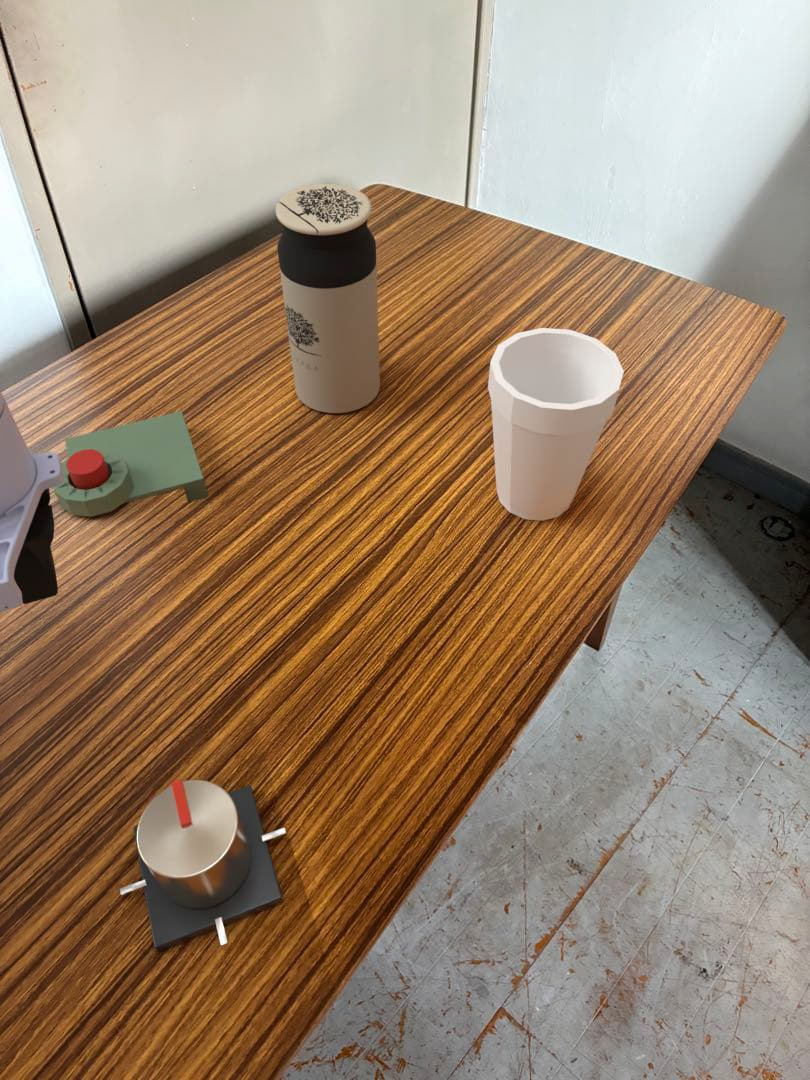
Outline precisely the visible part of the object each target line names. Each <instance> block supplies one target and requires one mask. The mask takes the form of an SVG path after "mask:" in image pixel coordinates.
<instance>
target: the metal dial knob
mask: <svg viewBox="0 0 810 1080" xmlns="http://www.w3.org/2000/svg"><path fill="white" fill-rule="evenodd" d="M228 793H229V792H228V791H227V790H226V789H224V788H223V787H221V786H220V785H218V784H216V783H215V782H212V781H209V780H203V779H188V780H187V779H186V780H182V779H178V780H175V781H173V782H171V783H170V785H169V786H168V787H166V788H164V789H162V790H161V791H160V792H158V793H157V795H155V796H154V797H153V798H152V799H151V801H149V803H148V804H147V806H145V808H144V810H143V812H142V813H141V816H140V818H139V821H138V824H137V825H138V828H137V838H136V840H137V847H136V849H137V848H138V851H139V854H140V856H141V858H142V860H143V861H144V863H145V864H146V866H147V867H148V869H149V870H150V872H151V873H152V875H153V876H154V878H155V879H156V880H157V882H158V883H159V885H160V886H161V888H162V889H163V891H164V892H165V893H166V895H167V896H168V897H169V898H170V899H171V900H172V901H174V902H175V903H177V904H179V905H181V906H183V907H187V908H193V909H203V908H208V907H212V906H215V905H217V904H219V903H221V902H223V901H225V900H226V899H228V898H229V897H230V896H232V895H233V894H234V893H235V892H236V891H237V890H238V888H239V887H240V886H241V885H242V883H243V881H244V880H245V878H246V876H247V874H248V871H249V868H250V864H251V846H250V842H249V839H248V836H247V834H246V831H245V829H244V826H243V823H242V821H241V818H240V816H239V813H238V811H237V808H236V805H235V803H234V801H233V799H232V798H231V796H230V795H229V794H228Z"/></svg>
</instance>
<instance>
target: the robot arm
mask: <svg viewBox="0 0 810 1080" xmlns="http://www.w3.org/2000/svg"><path fill="white" fill-rule="evenodd" d="M61 463H62V462H61V459H60V457H59V455H58V454H57V453H56V452H53V451H48V452H47V451H46V452H43V453H34V452H32V450H31V449H30V447H28V446H27V444H26V441H25V439H24V438H23V434H22V433H21V431H20V428H19V427H18V424H17V423H16V421H15V418H14V416H13V414H12V412H11V410H10V408H9V406H8V403H7V401H6V399H5V397H4V395H3V393H2V390H1V389H0V613H2V612H6V611H9V610H11V609H15V608H19V607H22V606H23V605H27V604H31V603H35V602H38V601H41V600H46V599H50V598H52V597H56V596H57V595H58V594H59V587H58V580H57V573H56V566H55V560H54V557H53V552H52V543H53V541H54V537H55V518H54V512H53V505H52V504H50V502H51V492H50V488H53V487H55V486H57V485H59V484H61V483H62V482H63V479H64V475H63V469H62V464H61Z"/></svg>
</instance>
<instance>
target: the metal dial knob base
mask: <svg viewBox="0 0 810 1080" xmlns="http://www.w3.org/2000/svg"><path fill="white" fill-rule="evenodd" d="M227 793H228V794H229V795H230V796H231V798H232V799H233V801H234V803H235V805H236V808H237V811H238V813H239V816H240V818H241V821H242V823H243V826H244V829H245V831H246V834H247V836H248V839H249V842H250V846H251V864H250V868H249V871H248V874H247V876H246V878H245V880H244V881H243V883H242V885H241V886H240V887H239V888H238V890H237V891H236V892H235V893H234V894H233V895H232V896H230V897H229V898H228V899H226V900H225V901H223V902H221V903H219V904H217V905H215V906H212V907H208V908H203V909H193V908H187V907H183V906H181V905H179V904H177V903H175V902H174V901H172V900H171V899H170V898H169V897H168V896H167V895H166V893H165V892H164V891H163V889H162V888H161V886H160V885H159V883H158V882H157V880H156V879H155V878H154V876H153V875H152V873H151V872H150V870H149V869H148V867H147V866H146V864H145V863H144V861H143V860H142V858H141V856H140V854H139V851H138V848H137V840H136V838H137V828H138V824H137V825H134V826H133V828H132V829H133V835H134V840H135V846H136V847H135V848H136V853H137V857H138V863H139V868H140V874H141V880H140V881H137V882H134V883H132V884H129V885H126V886H123V887H120V888H119V893H120V896H121V897H122V896H125V895H127V894H129V893H132V892H136V891H138V890H141V889H143V891H144V896H145V902H146V908H147V914H148V919H149V925H150V931H151V937H152V941H153V948H154V949H155V950H156V952H161V951H165V950H167V949H169V948H171V947H175V946H176V945H179V944H182V943H184V942H186V941H187V942H188V941H189V940H192V939H195V938H197V937H199V936H202V935H204V934H207V933H209V932H212V931H215V930H217V935H218V939H219V944H220V946H221V947H223V946H225V945H228V944H229V942H228V938H227V933H226V929H225V926H228V925H231V924H232V923H234V922H237V921H240V920H242V919H245V918H247V917H250V916H253V915H254V914H258V913H260V912H262V911H265V910H267V909H270V908H272V907H275V906H278V905H281V904H283V903H284V897H283V894H282V889H281V887H280V883H279V880H278V876H277V872H276V869H275V866H274V862H273V858H272V855H271V851H270V848H269V844H268V842H269V841H271V840H274V839H277V838H279V837H282V836H285V835H287V830H286V827H285V826H284V827H281V828H278V829H276V830H273V831H270V832H267V833H265V830H264V827H263V823H262V819H261V815H260V813H259V808H258V805H257V802H256V797H255V795H254V791H253V788H252V786H251V785H246V786H244V787H241V788H238V789H234V790H233V791H230V792H227Z"/></svg>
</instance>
